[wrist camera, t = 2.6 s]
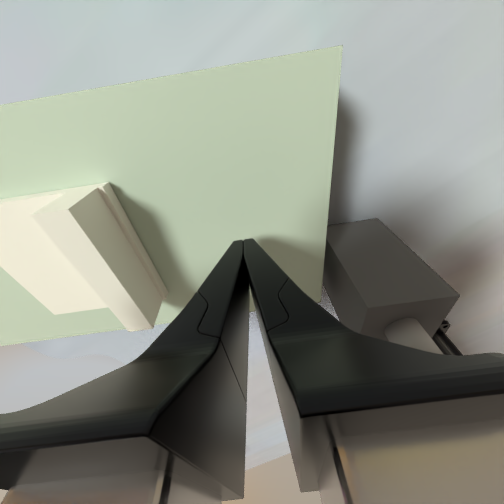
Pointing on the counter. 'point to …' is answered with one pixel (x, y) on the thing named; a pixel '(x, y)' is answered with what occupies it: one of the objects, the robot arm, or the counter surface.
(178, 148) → the socket
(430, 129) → the counter surface
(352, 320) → the plug
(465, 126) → the counter surface
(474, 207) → the counter surface
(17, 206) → the shutter
